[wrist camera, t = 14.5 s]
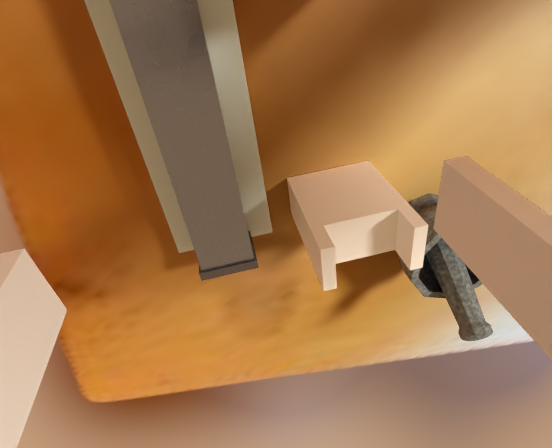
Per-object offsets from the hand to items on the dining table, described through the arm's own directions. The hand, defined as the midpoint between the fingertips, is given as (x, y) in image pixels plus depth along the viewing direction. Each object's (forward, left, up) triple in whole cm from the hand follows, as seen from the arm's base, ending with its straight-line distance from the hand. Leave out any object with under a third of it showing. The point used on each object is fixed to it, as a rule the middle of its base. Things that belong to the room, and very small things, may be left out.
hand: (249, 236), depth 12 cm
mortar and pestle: (+18, +18, -20) cm, 32 cm away
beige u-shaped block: (+11, +8, -19) cm, 24 cm away
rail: (+1, -2, -18) cm, 19 cm away
